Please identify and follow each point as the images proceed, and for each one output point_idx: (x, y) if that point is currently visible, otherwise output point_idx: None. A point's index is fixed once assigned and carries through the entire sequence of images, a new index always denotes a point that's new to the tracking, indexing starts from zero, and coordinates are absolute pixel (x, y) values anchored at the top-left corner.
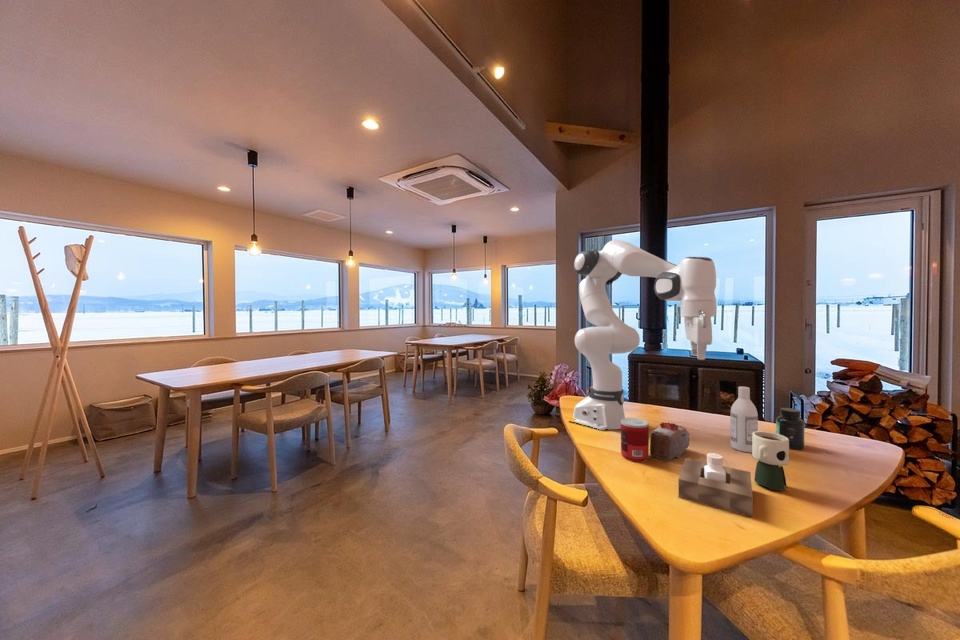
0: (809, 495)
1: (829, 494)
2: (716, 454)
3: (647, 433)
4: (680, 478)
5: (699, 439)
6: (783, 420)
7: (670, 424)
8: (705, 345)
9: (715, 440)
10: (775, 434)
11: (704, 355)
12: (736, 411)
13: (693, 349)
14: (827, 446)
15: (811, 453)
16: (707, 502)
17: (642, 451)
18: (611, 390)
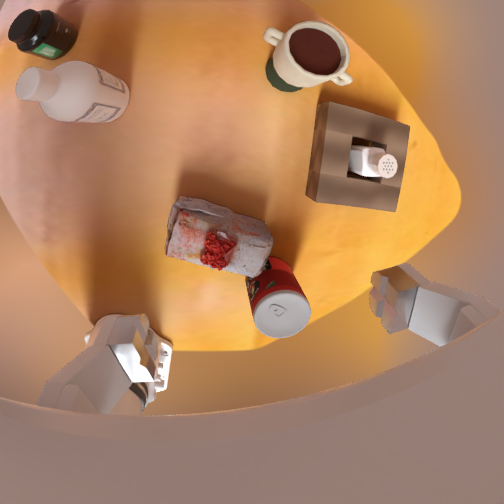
0: None
1: (270, 8)
2: (382, 162)
3: (288, 282)
4: (393, 209)
5: (98, 180)
6: (42, 35)
7: (219, 249)
8: (493, 315)
9: (87, 152)
10: (291, 33)
11: (422, 278)
12: (87, 103)
13: (129, 375)
14: (46, 7)
15: (85, 14)
16: None
17: (291, 271)
18: (132, 394)
